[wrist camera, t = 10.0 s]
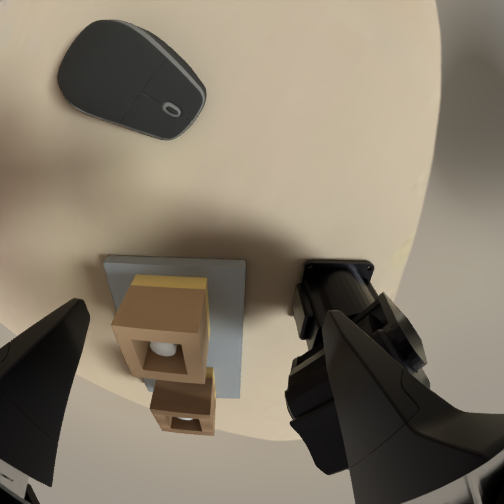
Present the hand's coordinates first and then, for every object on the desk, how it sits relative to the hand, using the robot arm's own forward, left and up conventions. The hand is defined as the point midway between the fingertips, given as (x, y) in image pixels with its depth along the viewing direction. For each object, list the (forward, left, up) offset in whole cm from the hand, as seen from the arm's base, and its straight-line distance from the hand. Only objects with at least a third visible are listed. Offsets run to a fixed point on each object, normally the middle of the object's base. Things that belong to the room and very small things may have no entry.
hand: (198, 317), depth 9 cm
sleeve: (+4, +21, -11) cm, 24 cm away
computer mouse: (+7, -9, -12) cm, 17 cm away
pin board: (+4, +15, -12) cm, 20 cm away
